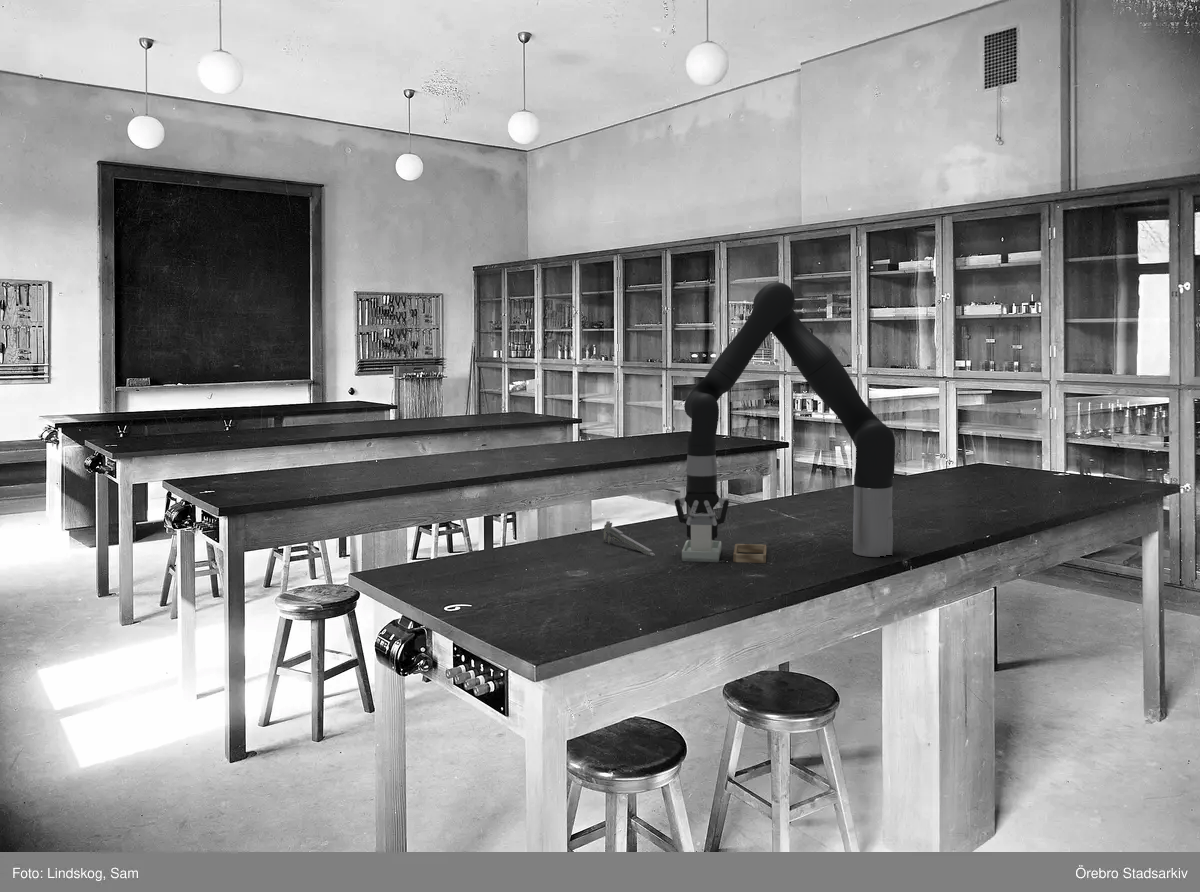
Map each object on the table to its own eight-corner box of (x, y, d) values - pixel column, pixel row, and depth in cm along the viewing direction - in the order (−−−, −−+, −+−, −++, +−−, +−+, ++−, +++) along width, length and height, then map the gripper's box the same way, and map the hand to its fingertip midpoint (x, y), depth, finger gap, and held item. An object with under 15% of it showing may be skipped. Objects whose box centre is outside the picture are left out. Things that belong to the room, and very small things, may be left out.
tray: (721, 550, 236) (721, 541, 236) (718, 562, 224) (718, 552, 224) (686, 549, 238) (686, 540, 237) (681, 561, 226) (681, 551, 226)
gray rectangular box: (713, 545, 234) (713, 514, 233) (711, 552, 226) (711, 521, 225) (693, 544, 235) (693, 514, 234) (690, 552, 227) (690, 520, 226)
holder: (766, 552, 233) (766, 544, 233) (765, 563, 223) (765, 555, 222) (735, 551, 235) (735, 543, 234) (733, 562, 224) (733, 554, 224)
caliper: (603, 543, 248) (603, 520, 247) (606, 542, 249) (606, 520, 248) (652, 557, 232) (651, 533, 231) (655, 556, 232) (655, 532, 232)
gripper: (731, 470, 231) (731, 536, 233) (674, 470, 233) (675, 535, 236) (729, 475, 223) (730, 543, 225) (671, 474, 226) (672, 542, 228)
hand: (702, 539), depth 230 cm, fingers closed on gray rectangular box, 5 cm apart
